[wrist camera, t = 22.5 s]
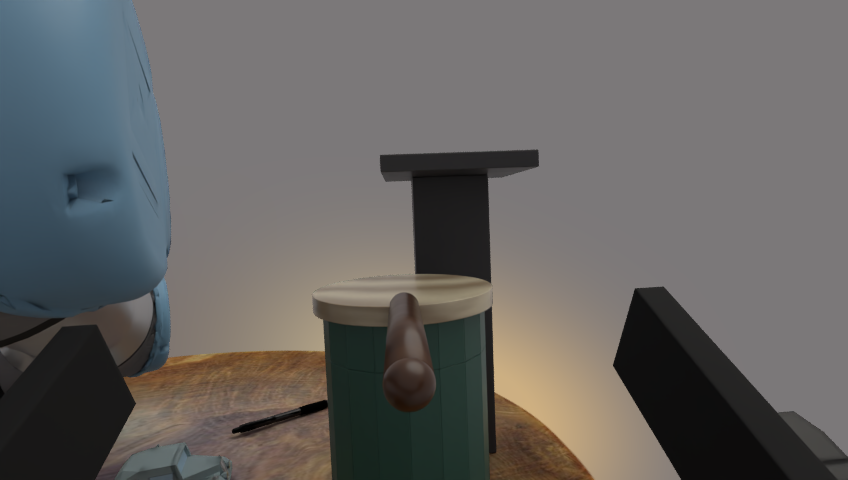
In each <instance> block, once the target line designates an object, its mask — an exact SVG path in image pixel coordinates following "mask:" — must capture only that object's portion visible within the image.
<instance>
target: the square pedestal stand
mask: <svg viewBox="0 0 848 480" xmlns="http://www.w3.org/2000/svg"><path fill="white" fill-rule="evenodd" d="M538 159H539V155H538V150H512V151H483V152H455V153H454V152H453V153H424V154H396V155H380V166H381V167H380V168H381V173H382V175H383V177H384V179H385V181H386V182H387V181H411V183H412V184H411V185H412V208H413V232H414V257H415V274H445V275H459V276H468V277H474V278H479V279H482V280H485V281H488V282H489V283H491V264H490V232H489V199H488V178H494V177H495V178H496V177H504V176H508V175H512V174H515V173H518V172H522V171H525V170H528V169H532V168H535V167H538V166H539V160H538ZM485 341H486V375H487V407H488V439H489V453H494V452H496V431H495V397H494V365H493V331H492V306H491V307H490V308H489V309H487V310H486V311H485Z"/></svg>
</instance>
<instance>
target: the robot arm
mask: <svg viewBox="0 0 848 480" xmlns="http://www.w3.org/2000/svg"><path fill="white" fill-rule="evenodd" d="M170 245H171V216H170V197H169V186H168V177H167V169H166V160H165V150H164V143H163V136H162V130H161V123H160V118H159V114H158V110H157V104H156V101H155V97H154V95H153V88H152V76H151V69H150V64H149V60H148V56H147V52H146V47H145V43H144V39H143V36H142V32H141V28H140V25H139V22H138V18H137V14H136V11H135V8H134V5H133V3H132V0H0V480H95V478H96V477H97V475H98V473H99V471H100V469H101V467H102V465H103V464H104V462H105V460H106V458H107V456H108V454H109V453H110V451H111V449H112V447H113V445H114V443H115V441H116V440H117V438H118V436H119V434H120V432H121V430H122V428H123V427H124V425H125V423H126V421H127V419H128V417H129V415H130V414H131V412H132V410H133V408H134V406H135V404H136V403H135V401H134V399H133V397H132V395H131V393H130V391H129V389H128V387H127V385H126V383H125V381H124V378H123V377H126V376H128V377H137V376H140V375H142V374H143V373H146V372H150V371H154V370H157V369H159V368H161V367H162V366H163V365H164V364H165V362H166V360H167V358H168V354H169V342H170V307H169V298H168V292H167V285H166V282H165V279H164V275H165V273H166V270H167V257H168V254H169V250H170ZM613 366H614V368H615V370H616V371H617V373H618V375H619V376H620V378H621V380H622V381H623V383H624V385H625V386H626V388H627V390H628V391H629V393H630V395H631V396H632V398H633V400H634V401H635V403H636V405H637V406H638V408H639V410H640V411H641V413H642V415H643V417H644V418H645V420H646V422H647V423H648V425H649V427H650V428H651V430H652V431H653V433H654V435H655V436H656V438H657V440H658V442H659V443H660V445H661V447H662V448H663V450H664V451H665V453H666V455H667V457H668V458H669V460H670V461H671V463H672V465H673V467H674V468H675V470H676V472H677V473H678V475H679V477H680V478H681V480H848V457H847V456H846V455H845V454H844V453H843V452H842V450H840V449H839V447H838V446H836V444H835V443H834V442H833V441H832V440H831V439H830V438H829V437H828V436H827V435H826V434H825V433H824V432H823V431H821V430H820V429H818V428H817V427H816V426H814V425H812V424H811V423H810V422H808V421H807V420H805V419H804V418H803V417H801V416H800V415H798V414H797V413H795V412H794V411H791V412H779V413H777V412H776V411H775V410H774V409H773V407H772V406H771V405H770V404H769V403H768V402H767V401H766V400H765V399H764V397H763V396H762V395H761V394H760V393H759V392H758V391H757V390H756V389H755V387H754V386H753V385H752V384H751V383H750V382H749V381H748V380H747V379H746V377H745V376H744V375H743V374H742V373H741V372H740V371H739V370H738V369H737V367H736V366H735V365H734V364H733V363H732V362H731V361H730V360H729V359H728V358H727V356H726V355H725V354H724V353H723V352H722V351H721V350H720V349H719V348H718V346H717V345H716V344H715V343H714V342H713V341H712V340H711V339H710V338H709V336H708V335H707V334H706V333H705V332H704V331H703V330H702V329H701V328H700V326H699V325H698V324H697V323H696V322H695V321H694V320H693V319H692V318H691V317H690V315H689V314H688V313H687V312H686V311H685V310H684V309H683V308H682V307H681V305H680V304H679V303H678V302H677V301H676V300H675V299H674V298H673V297H672V296H671V294H670V293H669V292H668V291H667V290H666V289H665V288H664V287H652V288H637V289H635V290H634V294H633V297H632V301H631V304H630V308H629V311H628V315H627V318H626V322H625V325H624V329H623V332H622V336H621V339H620V343H619V346H618V350H617V353H616V357H615V360H614V364H613Z"/></svg>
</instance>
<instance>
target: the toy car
mask: <svg viewBox="0 0 848 480" xmlns="http://www.w3.org/2000/svg"><path fill="white" fill-rule="evenodd" d="M231 472H232V461H230V460H229V459H227V458H226V457H224V456H222V457H220V455H219V456H201V455H191V453H190V451H189V449H188V447H187V445H186V443H185V442H184V443H179V444H173V445H167V446H161V447H159V445H157V446H156V447H155V448H150V449H147V450H144V451H142V452H139V453H136V454H133V455H131V457H130V458H129V459H128V460H127V461H126V462H125V463H124V465H123V466H122V468H121V469H120V471H119V473H118V474H117V476H116V477H115V479H114V480H230V477H231Z"/></svg>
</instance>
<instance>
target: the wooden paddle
mask: <svg viewBox="0 0 848 480" xmlns="http://www.w3.org/2000/svg"><path fill="white" fill-rule="evenodd" d="M312 297H313V313H314V314H315V316H317V317H318V318H320V319H323V320H325V321H329V322H333V323H338V324H345V325H353V326H369V327H387V337H386V349H385V360H384V371H383V384H382V386H383V392H384V395H385V398H386V399H387V401H388V402H389V403H390V404H391V405H392V406H393V407H394V408H395V409H397V410H399V411H402V412H416V411H419V410H421V409H423V408H424V407H426V406H427V405H428V404H429V402H430V401H431V400H432V398H433V396H434V393H435V390H436V379H435V374H434V370H433V365H432V361H431V356H430V352H429V347H428V343H427V338H426V333H425V329H424V325H426V324H435V323H442V322H448V321H453V320H458V319H463V318H467V317H470V316H473V315H477V314H479V313H482V312H484V311H486V310H487V309H489V308H490V307H491V306H492V304H493V292H492V284H491V283H489V282H488V281H485V280H482V279H479V278H474V277H468V276H459V275H445V274H405V275H388V276H378V277H369V278H360V279H354V280H348V281H343V282H338V283H334V284H330V285H327V286H324V287H322V288H319V289H317V290H316V291H314V292H313V294H312Z"/></svg>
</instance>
